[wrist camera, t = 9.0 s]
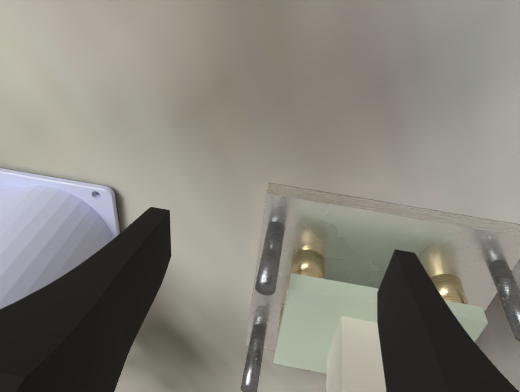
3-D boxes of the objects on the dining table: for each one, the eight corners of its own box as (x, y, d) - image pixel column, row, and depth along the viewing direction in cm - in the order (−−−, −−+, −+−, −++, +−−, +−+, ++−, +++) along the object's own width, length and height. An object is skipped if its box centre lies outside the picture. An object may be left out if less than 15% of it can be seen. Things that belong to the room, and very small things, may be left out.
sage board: (275, 349, 27) (264, 430, 23) (291, 273, 23) (281, 356, 19) (435, 379, 26) (452, 468, 22) (482, 307, 22) (514, 401, 18)
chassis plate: (247, 333, 32) (233, 405, 28) (268, 183, 24) (253, 251, 19) (435, 368, 31) (451, 448, 27) (526, 225, 23) (571, 307, 19)
